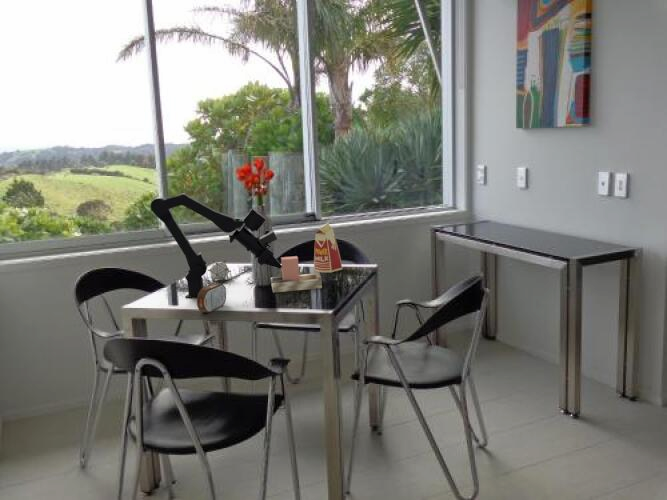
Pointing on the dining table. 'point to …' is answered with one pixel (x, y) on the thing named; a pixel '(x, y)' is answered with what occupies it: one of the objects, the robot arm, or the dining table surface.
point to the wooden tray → (297, 283)
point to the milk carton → (326, 251)
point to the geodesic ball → (219, 270)
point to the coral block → (290, 268)
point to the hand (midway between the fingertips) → (281, 267)
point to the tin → (211, 297)
